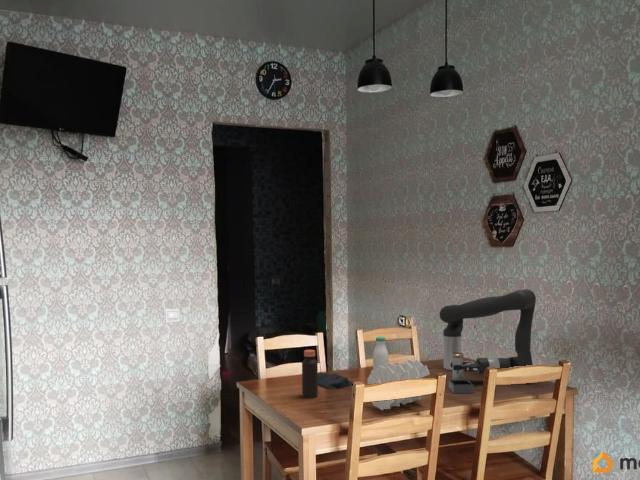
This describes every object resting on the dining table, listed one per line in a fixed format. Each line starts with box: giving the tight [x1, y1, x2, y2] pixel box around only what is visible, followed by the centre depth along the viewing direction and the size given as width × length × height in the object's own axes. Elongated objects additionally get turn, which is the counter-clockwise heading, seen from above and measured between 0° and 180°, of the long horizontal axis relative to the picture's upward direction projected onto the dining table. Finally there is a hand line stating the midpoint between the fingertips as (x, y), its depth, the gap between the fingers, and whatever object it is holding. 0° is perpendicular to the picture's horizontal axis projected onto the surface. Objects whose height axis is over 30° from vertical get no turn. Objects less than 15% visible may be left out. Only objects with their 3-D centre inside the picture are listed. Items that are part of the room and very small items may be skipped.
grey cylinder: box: [452, 352, 465, 380], centre depth 273 cm, size 5×5×14 cm
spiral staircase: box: [366, 358, 430, 411], centre depth 239 cm, size 18×18×25 cm
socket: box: [448, 379, 475, 394], centre depth 260 cm, size 9×9×4 cm
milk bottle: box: [372, 336, 390, 370], centre depth 284 cm, size 8×8×20 cm
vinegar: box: [301, 349, 319, 399], centre depth 253 cm, size 7×7×20 cm
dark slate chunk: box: [318, 371, 354, 390], centre depth 276 cm, size 15×22×5 cm
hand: (452, 366), depth 273 cm, fingers closed on grey cylinder, 4 cm apart
